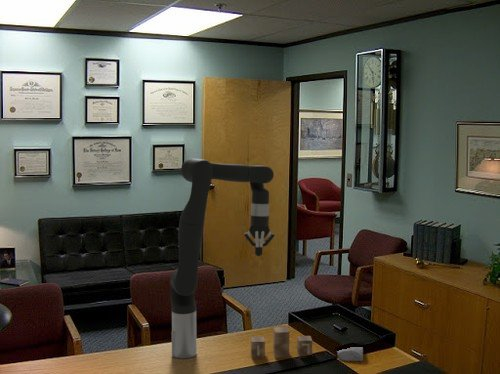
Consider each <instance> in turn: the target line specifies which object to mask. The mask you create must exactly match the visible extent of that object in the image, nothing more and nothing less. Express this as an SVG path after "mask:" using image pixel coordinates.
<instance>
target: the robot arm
mask: <svg viewBox="0 0 500 374" xmlns="http://www.w3.org/2000/svg"><path fill="white" fill-rule="evenodd" d="M180 173H181V176H182V177H183V179H184V180H185V181H188V182H190V183H191V188H190V189H191V190H190V196H189V199H188V201H187V203H186V205H185V206H184V208H183V210H182V211H181V215H180V217H179V223H178V230H177V231H178V232H177V240H178V241H177V242H178V243H177V244H178V264H177V265H178V266H177V268H175V269H174V270H173V272H172V273H171V275H170V277H169V278H170V279H169V287H170V288H169V289H170V291H169V292H170V295H169V296H170V304H171V305H170V306H171V357H172V358H176V359H190V358H193V357H195V356H197V352H198V351H197V348H198V347H197V301H196V298H195V291H196V289H197V287H198V278H199V258H200V252H201V249H202V248H201V247H202V243H203V242H202V241H203V240H202V239H203V233H204V226H205V219H206V218H205V217H206V210H207V204H208V197H209V191H210V188H211V185H212V180H219V181H226V182H232V183H234V182H235V183H249V185H250V190H251V206H250V225H249V228H248V231H247V232H244V233H243V234H244V235H243V236H244V237H245V238H246V240H247V241H248V242H249V244H250V245H251V247H254V254H255V255H256V256H257V257H261V256H262V255H263V247H267V246H268V244H269V243H270V242H272V240H273V239H274V237H275V234H274V233H273V232H271V230H270V226H269V224H270V203H269V202H270V192H269V190H268V189H267V188H265V186H264V184H269V183H271V181H272V180H273V179H274V176H275V174H274V171H273V169H272V168H271V167H270V166H267V165H258V164H257V165H249V164H243V163H242V164H239V163H215V162H210V161H209V160H207V159H203V158H202V159H201V158H197V157H194V158H193V157H192V158H188V159H186V160H185V161H184V162H183V163H182V165H181V169H180ZM251 236H252V237H253V238H254V241H253V240H252V238H251ZM267 236H268V237H267ZM266 237H267V238H266ZM265 238H266V239H265ZM264 240H265V241H264Z"/></svg>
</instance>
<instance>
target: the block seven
mask: <svg viewBox="0 0 500 374" xmlns="http://www.w3.org/2000/svg"><path fill="white" fill-rule="evenodd" d="M296 338H297V340H296V341H297V342H296V343H297V345H296V348H297V349H296V351H297V352H298V353H297V352H296V353H297V355H299V356H305V355H312V356H313V339H312V336H311V335H297V337H296ZM299 356H298V357H299Z"/></svg>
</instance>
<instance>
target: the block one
mask: <svg viewBox="0 0 500 374" xmlns="http://www.w3.org/2000/svg"><path fill="white" fill-rule="evenodd" d="M250 355H251V356H250V357H251V359H266V341H265V336H251V337H250Z"/></svg>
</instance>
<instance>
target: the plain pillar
mask: <svg viewBox="0 0 500 374" xmlns="http://www.w3.org/2000/svg"><path fill="white" fill-rule="evenodd" d="M273 356H274V359H290V329H289V327H288V326H287V327H286V326H285V327H282V326H281V327H279V326H277V327H275V326H274V327H273Z"/></svg>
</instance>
